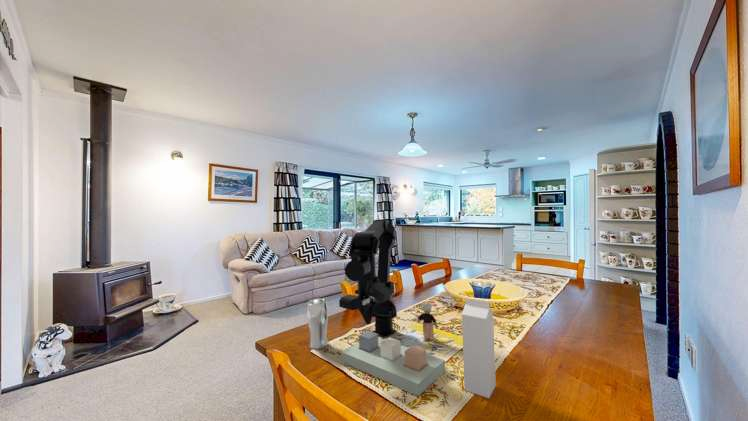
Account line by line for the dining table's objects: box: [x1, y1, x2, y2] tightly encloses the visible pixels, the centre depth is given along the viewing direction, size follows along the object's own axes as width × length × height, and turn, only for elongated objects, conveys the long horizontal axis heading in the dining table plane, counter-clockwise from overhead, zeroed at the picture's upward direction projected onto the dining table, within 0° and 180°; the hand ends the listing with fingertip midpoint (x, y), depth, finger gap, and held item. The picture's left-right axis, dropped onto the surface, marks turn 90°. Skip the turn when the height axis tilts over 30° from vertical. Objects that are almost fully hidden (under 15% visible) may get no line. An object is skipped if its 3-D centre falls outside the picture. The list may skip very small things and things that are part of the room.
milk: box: [461, 298, 497, 399], centre depth 72 cm, size 6×6×22 cm
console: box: [340, 337, 446, 397], centre depth 84 cm, size 14×27×3 cm, turn 50°
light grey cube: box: [380, 337, 402, 362], centre depth 84 cm, size 4×4×4 cm
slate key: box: [358, 330, 379, 353], centre depth 90 cm, size 4×4×4 cm
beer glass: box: [306, 297, 329, 350], centre depth 99 cm, size 7×7×15 cm
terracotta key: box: [405, 344, 427, 372], centre depth 79 cm, size 4×4×4 cm
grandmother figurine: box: [416, 302, 439, 343], centre depth 100 cm, size 8×4×13 cm, turn 65°
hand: (368, 323), depth 90 cm, fingers closed
